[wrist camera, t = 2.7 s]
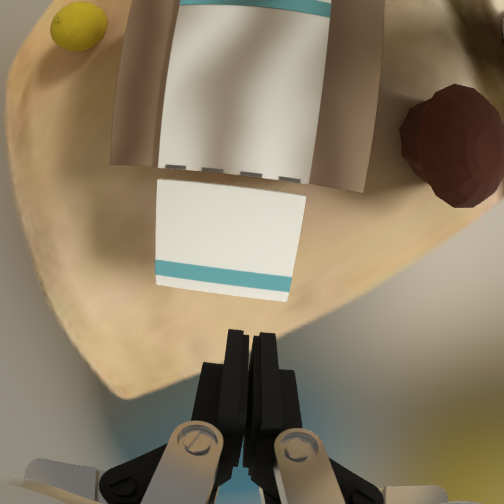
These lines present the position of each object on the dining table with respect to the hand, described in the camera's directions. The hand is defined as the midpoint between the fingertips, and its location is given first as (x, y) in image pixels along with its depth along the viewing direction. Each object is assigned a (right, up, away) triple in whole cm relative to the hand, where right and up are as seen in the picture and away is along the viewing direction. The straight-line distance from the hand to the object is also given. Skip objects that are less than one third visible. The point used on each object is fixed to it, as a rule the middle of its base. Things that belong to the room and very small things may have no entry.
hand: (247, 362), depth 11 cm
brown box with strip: (0, +20, +15) cm, 25 cm away
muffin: (+20, +16, +16) cm, 30 cm away
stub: (-2, +5, +11) cm, 12 cm away
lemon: (-17, +28, +13) cm, 35 cm away
